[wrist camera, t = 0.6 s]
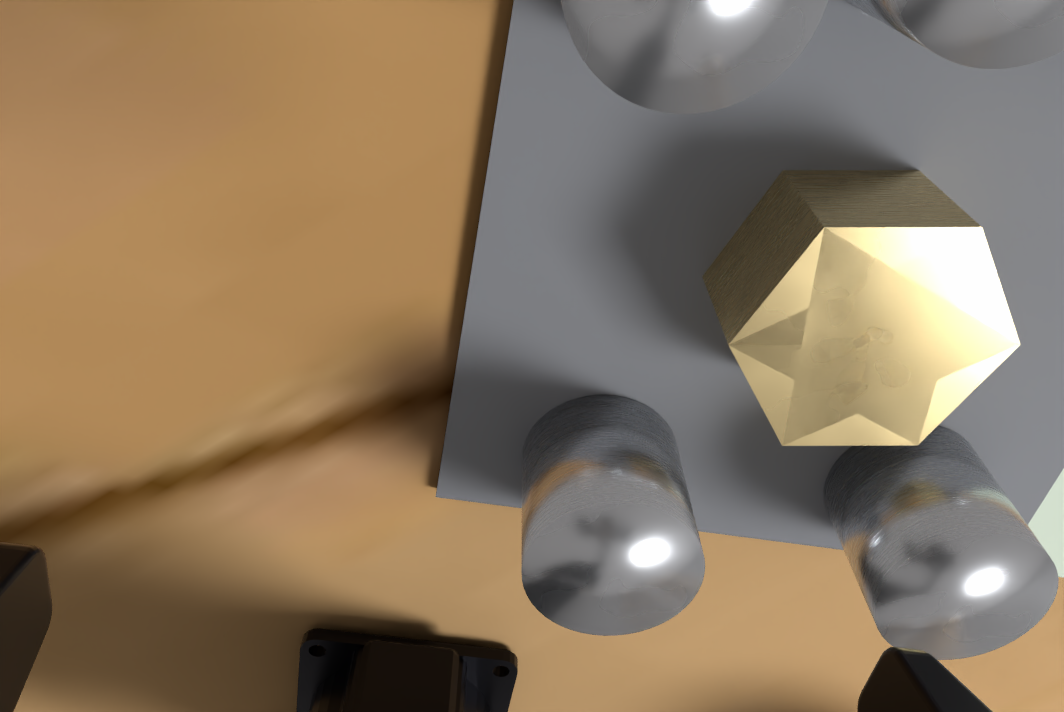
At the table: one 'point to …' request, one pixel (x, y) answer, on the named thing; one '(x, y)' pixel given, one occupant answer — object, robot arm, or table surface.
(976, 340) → the faceted tan block
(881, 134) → the mat
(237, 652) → the table surface
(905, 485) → the spacers
